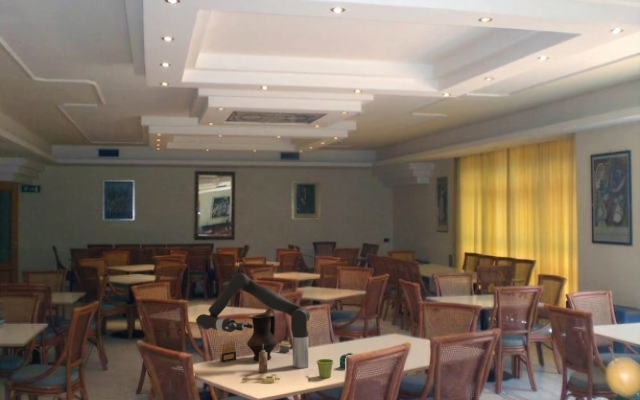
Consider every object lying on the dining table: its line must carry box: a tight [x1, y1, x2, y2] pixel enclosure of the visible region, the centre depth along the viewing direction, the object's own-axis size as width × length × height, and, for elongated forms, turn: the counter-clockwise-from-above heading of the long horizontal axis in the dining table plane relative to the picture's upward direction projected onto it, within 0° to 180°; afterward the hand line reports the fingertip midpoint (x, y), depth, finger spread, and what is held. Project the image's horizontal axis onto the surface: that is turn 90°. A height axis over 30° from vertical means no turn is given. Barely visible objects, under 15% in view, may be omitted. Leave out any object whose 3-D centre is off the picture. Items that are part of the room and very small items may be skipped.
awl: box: [258, 344, 268, 374], centre depth 353 cm, size 5×5×17 cm
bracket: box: [339, 352, 354, 369], centre depth 366 cm, size 18×7×8 cm, turn 55°
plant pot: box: [316, 358, 335, 379], centre depth 348 cm, size 9×9×9 cm
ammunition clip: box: [219, 339, 237, 363], centre depth 386 cm, size 11×2×12 cm, turn 133°
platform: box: [277, 340, 292, 353], centre depth 411 cm, size 12×18×7 cm, turn 48°
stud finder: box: [263, 376, 275, 384], centre depth 335 cm, size 5×6×2 cm
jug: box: [246, 307, 279, 361], centre depth 392 cm, size 21×18×30 cm
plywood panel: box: [239, 373, 282, 384], centre depth 340 cm, size 20×18×1 cm
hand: (247, 327), depth 360 cm, fingers open, 8 cm apart
